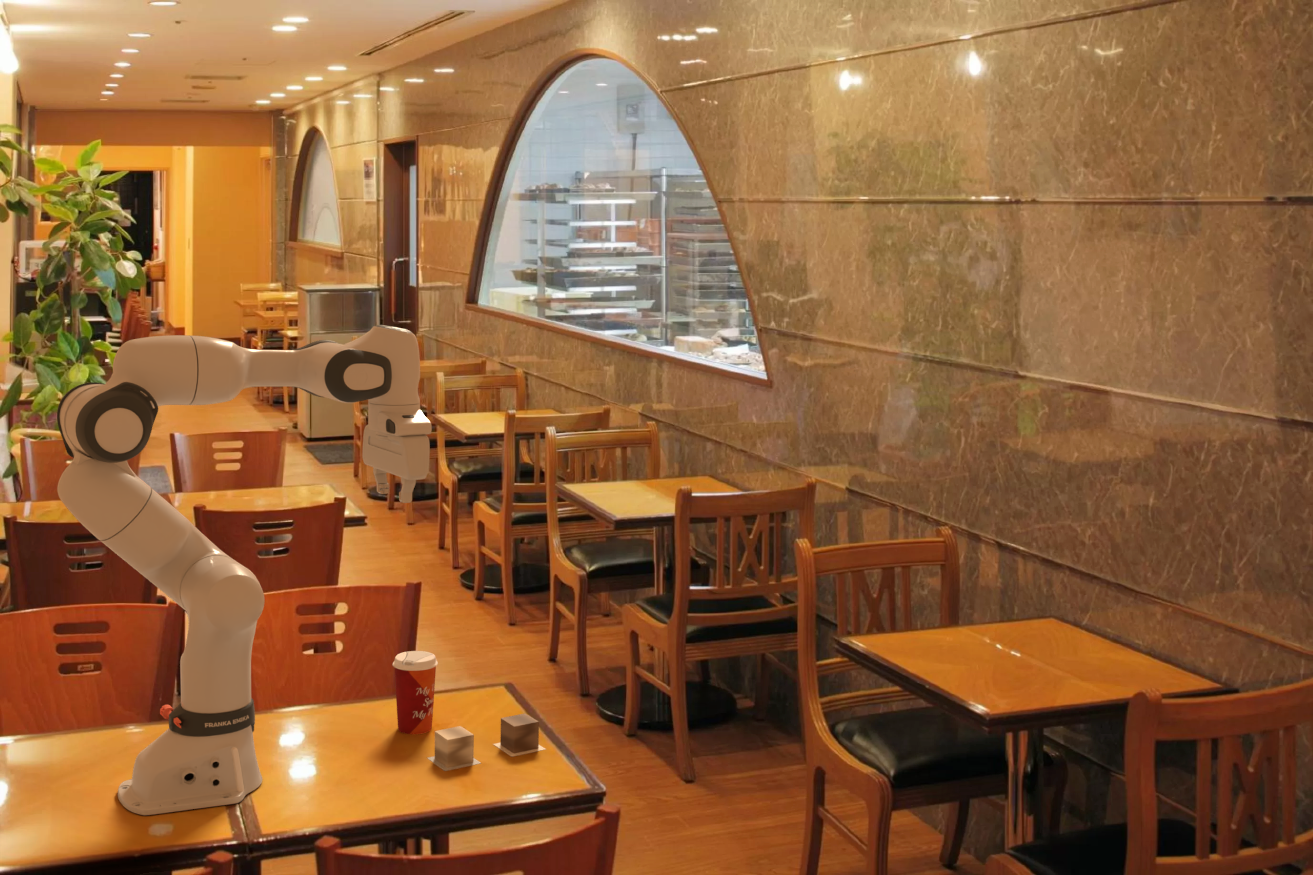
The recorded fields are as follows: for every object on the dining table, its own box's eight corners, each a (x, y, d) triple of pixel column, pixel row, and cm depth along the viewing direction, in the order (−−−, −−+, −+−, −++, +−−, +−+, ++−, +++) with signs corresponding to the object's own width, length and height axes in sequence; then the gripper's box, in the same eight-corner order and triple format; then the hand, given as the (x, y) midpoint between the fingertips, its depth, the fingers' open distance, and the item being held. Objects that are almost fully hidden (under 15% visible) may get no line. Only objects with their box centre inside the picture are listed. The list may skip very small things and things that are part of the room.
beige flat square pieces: (451, 785, 226) (451, 778, 226) (415, 758, 238) (415, 751, 238) (563, 760, 239) (563, 753, 239) (524, 735, 250) (524, 729, 250)
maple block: (447, 767, 231) (447, 739, 230) (434, 758, 235) (434, 730, 234) (473, 762, 234) (473, 734, 233) (460, 753, 238) (460, 725, 237)
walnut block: (513, 753, 238) (514, 726, 238) (500, 744, 242) (500, 718, 242) (538, 748, 241) (538, 721, 240) (524, 739, 245) (525, 713, 244)
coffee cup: (427, 744, 245) (428, 664, 243) (385, 739, 246) (385, 660, 244) (444, 728, 253) (444, 651, 251) (402, 724, 254) (403, 647, 252)
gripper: (353, 413, 239) (353, 489, 241) (401, 427, 223) (401, 509, 225) (386, 411, 243) (386, 486, 245) (436, 425, 226) (435, 505, 228)
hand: (394, 497), depth 235 cm, fingers open, 8 cm apart
